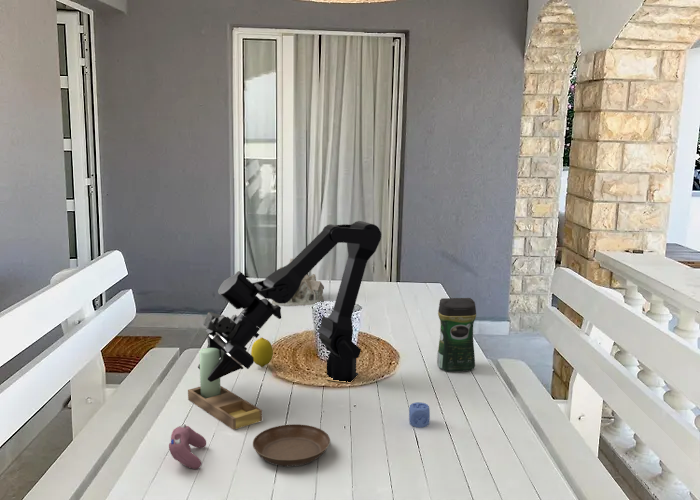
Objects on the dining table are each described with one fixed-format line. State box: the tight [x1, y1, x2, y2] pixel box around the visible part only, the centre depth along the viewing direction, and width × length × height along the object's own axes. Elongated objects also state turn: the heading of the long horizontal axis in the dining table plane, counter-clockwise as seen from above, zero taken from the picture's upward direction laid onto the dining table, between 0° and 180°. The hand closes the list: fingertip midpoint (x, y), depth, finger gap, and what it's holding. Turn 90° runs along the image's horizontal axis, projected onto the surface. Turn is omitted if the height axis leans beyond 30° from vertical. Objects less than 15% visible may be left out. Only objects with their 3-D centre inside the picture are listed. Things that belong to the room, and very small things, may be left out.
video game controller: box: [168, 424, 207, 470], centre depth 129 cm, size 10×5×7 cm, turn 5°
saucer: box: [252, 423, 331, 468], centre depth 132 cm, size 15×15×3 cm
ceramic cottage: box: [271, 258, 325, 307], centre depth 241 cm, size 16×16×15 cm
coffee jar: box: [436, 297, 477, 373], centre depth 176 cm, size 10×8×19 cm
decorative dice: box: [408, 402, 431, 429], centre depth 145 cm, size 4×4×4 cm
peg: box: [198, 347, 221, 399], centre depth 154 cm, size 4×4×12 cm
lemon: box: [250, 336, 274, 368], centre depth 177 cm, size 6×6×8 cm
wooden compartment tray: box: [187, 385, 263, 431], centre depth 151 cm, size 20×7×2 cm, turn 40°
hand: (204, 374), depth 154 cm, fingers open, 8 cm apart
